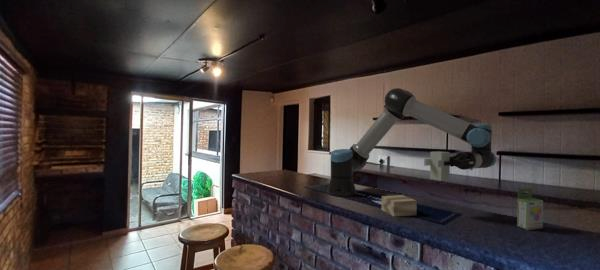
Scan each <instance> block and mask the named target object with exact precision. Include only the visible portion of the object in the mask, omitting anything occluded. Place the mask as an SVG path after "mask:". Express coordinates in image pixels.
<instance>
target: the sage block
mask: <svg viewBox="0 0 600 270" xmlns="http://www.w3.org/2000/svg"><path fill="white" fill-rule="evenodd" d="M429 154H430V155H429V156H430V157H429V158H430V165H429V167H430V169H429V179H430V180H434V181H441V182H444V181H450V175H451V174H450V172H451V171H450V169H451V166H450V165H449V167H436V163H437V160H447V159H448V160H449V161H450V157H451V156H450V155H451V152H450V151H430V153H429Z"/></svg>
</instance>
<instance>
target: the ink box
mask: <svg viewBox="0 0 600 270" xmlns="http://www.w3.org/2000/svg"><path fill="white" fill-rule="evenodd" d="M524 192H527V193H524ZM523 193H524V194H523ZM532 193H533V188H532V187H529V188H527V187H526V188H518V189H517V210H516V211H517V213H516V214H517V215H516V216H517V217H516V226H517V227H518V228H521V229H523V230H525V231H526V230H527V231H532V230H540V229H543V228H544V200H543V199H538V198H533V195H532Z"/></svg>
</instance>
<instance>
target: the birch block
mask: <svg viewBox="0 0 600 270" xmlns="http://www.w3.org/2000/svg"><path fill="white" fill-rule="evenodd" d="M417 206H418V205H417V200H416V199H414V198H412V197H408V196H406V195H404V194H400V195H396V194H395V195H382V196H381V211H383V212H385V213H387V214H388V215H390V216H392V217H407V216H417V210H418V209H417Z"/></svg>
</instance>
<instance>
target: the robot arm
mask: <svg viewBox="0 0 600 270" xmlns="http://www.w3.org/2000/svg"><path fill="white" fill-rule="evenodd" d="M406 116H410V117H412V118H414V119H416V120H418V121H421V122H423V123H424V124H427V125H429V126H431V127H434V128H435V129H437V130H440V131H441V132H442V131H443V132H444V133H446V134H448V135H451V136H453V137H455V138H457V139H460V140H462V141H463V142H465V143H468V144H469V145H470V146H471V147H470V149H471V151H460V152H458V153H456V155H453V156H450V161H449V160H448V159H447V160H437V163H436V167H449V165H450V168H451V167H456V168H458V169H459V170H463V171H464V170H465V171H466V170H470V171H473V170H476V169H487V168H491V167H493V166H494V165H495V163H496V161H497V157H496V155H495V153H494V152H492V135H493V131H492V129H493V128H492V125H491V124H488V123H487V124H486V123H483V124H481V123H479V124H477V123H476V124H472V123H470V122H468V121H465V120H463V119H461V118H458V117H455V116H454V115H452V114H449V113H447V112H445V111H442V110H440V109H438V108H436V107H433V106H432V105H428V104H426V103H424V102H421V101H419V100H417V99H416V97H415V95H414V94H413V93H412V92H411V91H409V90H405V89H402V88H401V87H400V88H398V87H395V88H392V89H390V90H389V91H388V92H387V93H386V94H385V96H384V105H383V111H382V113H381V114H380V115H379V116H378V117H377V119H375V121H374V122H373V124H371V126H370V127H369V129H368V130H366V132H365V134H364V135H362V137H361V138H360V139H359V141H358V142H357V143H354V144H352V145H351V146H350V147H349V148H340V149H335V150H332V151H331V153H330V179H329V183H328V187H327V189H326V190H327V191H326V192H327V194H328V195H330V196H334V197H353V196H355V195H357V193H356V192H357V189H356V186H355V183H354V180H353V177H354V176H353V173H354V172H357V171H360V170H362V169H363V168H365V166H366V164H367V162H368V160H369V159H370V153H371V152H372V151H373V150H374V148H375V147H376V146H377V145H378V144H379V143H380V142H381V140H382V139H383V138H384V137H385V135H386V134H388V132H389V131H390V130H391V128H393V126H394V125H395V124H396V122H399V121H403V119H404V118H405V117H406ZM423 166H430V157H429V158H424V159H423Z"/></svg>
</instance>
